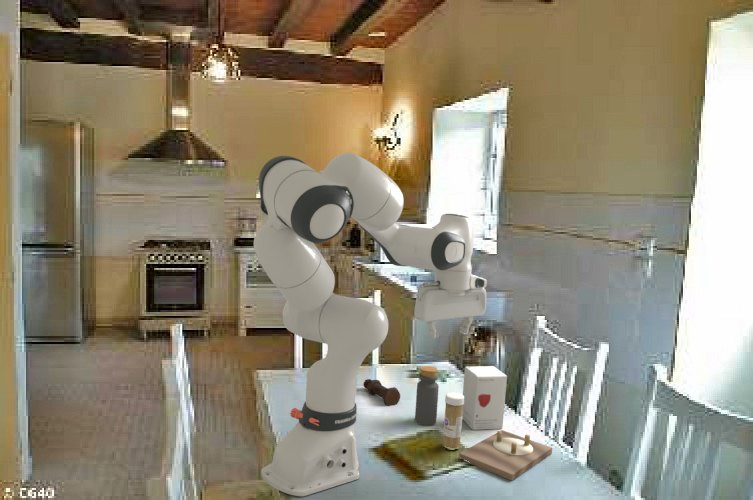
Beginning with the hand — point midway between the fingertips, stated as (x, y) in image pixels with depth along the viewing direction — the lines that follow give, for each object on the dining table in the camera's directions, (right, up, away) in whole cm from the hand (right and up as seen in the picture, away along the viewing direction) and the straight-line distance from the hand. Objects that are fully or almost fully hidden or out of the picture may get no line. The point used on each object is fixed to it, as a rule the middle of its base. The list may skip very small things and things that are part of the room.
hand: (449, 335), depth 145 cm
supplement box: (+11, -27, +17) cm, 34 cm away
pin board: (+13, -29, -3) cm, 32 cm away
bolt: (-17, -24, +33) cm, 44 cm away
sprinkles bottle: (+1, -28, +1) cm, 28 cm away
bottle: (-5, -26, +16) cm, 31 cm away
